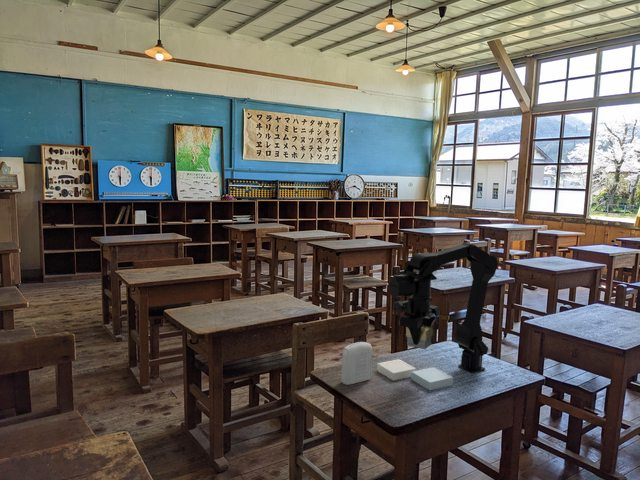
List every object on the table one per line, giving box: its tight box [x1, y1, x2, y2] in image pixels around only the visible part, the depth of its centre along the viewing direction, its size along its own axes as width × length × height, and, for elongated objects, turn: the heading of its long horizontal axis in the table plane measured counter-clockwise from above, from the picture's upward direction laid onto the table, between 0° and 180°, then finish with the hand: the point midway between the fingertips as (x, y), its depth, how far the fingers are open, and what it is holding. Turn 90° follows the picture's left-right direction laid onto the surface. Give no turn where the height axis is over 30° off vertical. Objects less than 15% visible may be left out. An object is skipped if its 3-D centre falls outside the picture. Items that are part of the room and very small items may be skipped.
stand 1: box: [376, 359, 417, 382], centre depth 159 cm, size 9×9×2 cm
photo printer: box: [341, 341, 373, 386], centre depth 152 cm, size 10×4×12 cm, turn 123°
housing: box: [405, 325, 434, 350], centre depth 154 cm, size 7×6×6 cm
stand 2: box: [410, 366, 454, 391], centre depth 152 cm, size 9×9×2 cm
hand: (419, 342), depth 154 cm, fingers closed on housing, 5 cm apart
